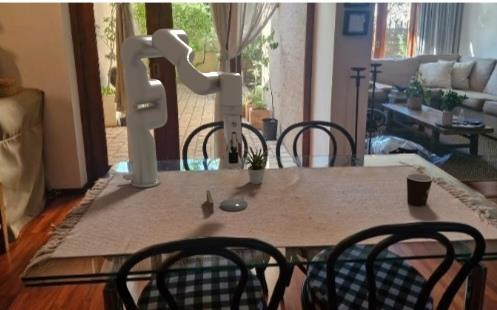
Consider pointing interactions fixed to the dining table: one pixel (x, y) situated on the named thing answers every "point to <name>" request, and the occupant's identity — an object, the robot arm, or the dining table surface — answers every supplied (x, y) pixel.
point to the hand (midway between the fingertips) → (232, 160)
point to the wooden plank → (210, 201)
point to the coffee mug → (418, 189)
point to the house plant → (256, 166)
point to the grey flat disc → (233, 204)
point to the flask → (226, 160)
